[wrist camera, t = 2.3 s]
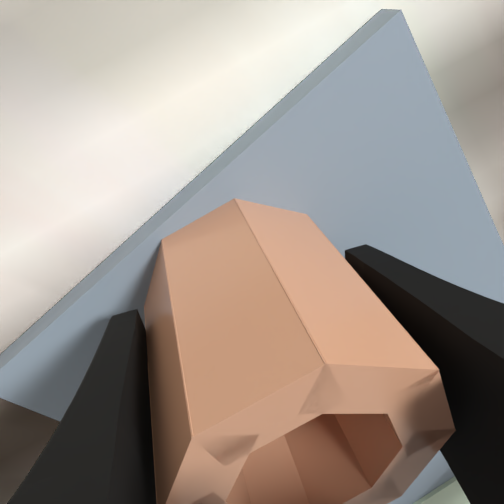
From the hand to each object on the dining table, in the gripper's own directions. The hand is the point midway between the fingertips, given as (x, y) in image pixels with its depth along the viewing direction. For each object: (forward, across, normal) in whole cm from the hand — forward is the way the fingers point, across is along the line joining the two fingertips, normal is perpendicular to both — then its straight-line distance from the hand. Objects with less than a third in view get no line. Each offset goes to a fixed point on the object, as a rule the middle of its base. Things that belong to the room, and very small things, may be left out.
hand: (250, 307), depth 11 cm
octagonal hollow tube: (+1, 0, 0) cm, 1 cm away
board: (+2, -6, +10) cm, 12 cm away
